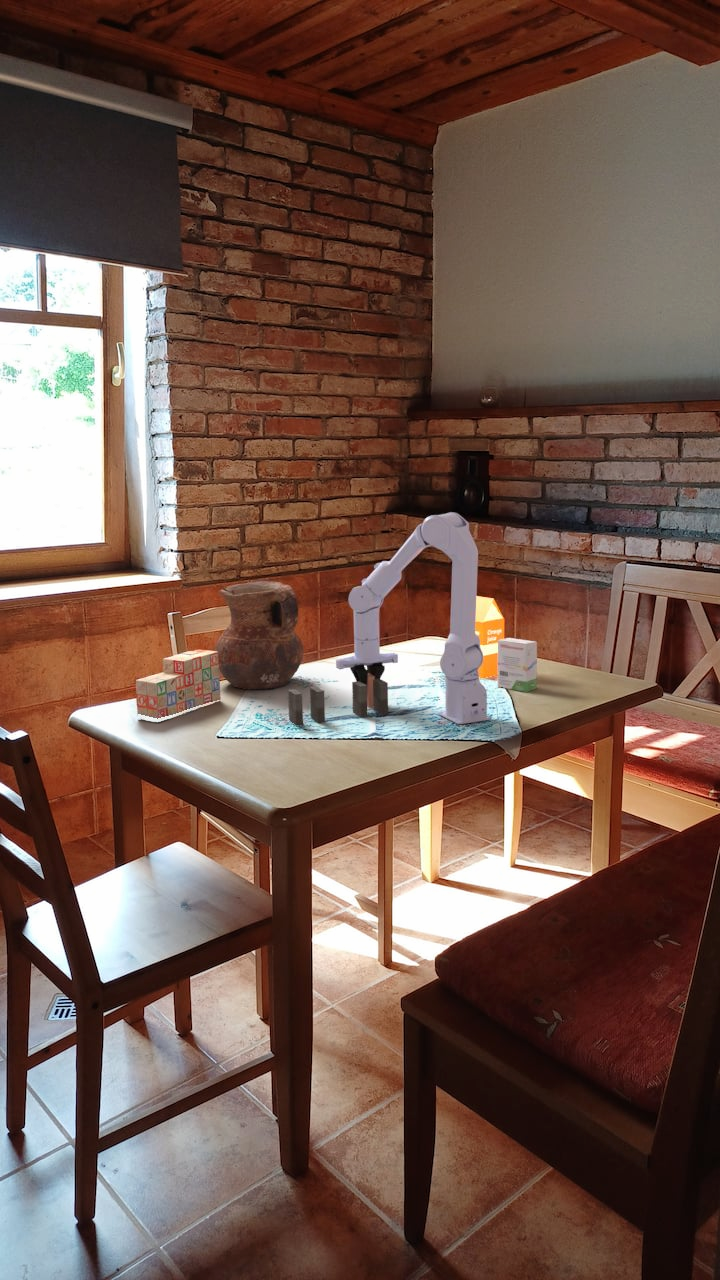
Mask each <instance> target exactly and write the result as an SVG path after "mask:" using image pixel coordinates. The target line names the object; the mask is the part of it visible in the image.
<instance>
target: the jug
mask: <svg viewBox="0 0 720 1280" xmlns="http://www.w3.org/2000/svg"><path fill="white" fill-rule="evenodd" d="M219 594H220V595H221V596H222V598H223V599H224V601H225V602H226V605H227V606H228V608H229V611H230V612H229V613H230V624H229V625H228V626H227V628H226V629H225V630H224V631H223V632H222V633H221V635H220V636H219V639H218V640H217V642H216V644H215V649H214V651H217V652H218V658H219V671H220V674H221V675H222V677H223V678H224V679H225V680H226V682H228V683H229V684H230V685H231V686H232V685H233V687H234V686H235V687H234V688H236V687H238V688H237V689H240V688H242V689H241V690H270V689H276V688H280V687H281V686H284V685H285V684H287V683H288V681H290V680H291V679H292V678H293V677H294V676H295V674H296V672H297V671H298V670H299V668H300V666H301V663H302V660H303V656H304V643H303V642H302V640H301V638H300V636H299V635H298V634H297V633H296V632H295V628H296V626H297V625H298V622H299V602H298V600H297V599H298V598H297V596H296V594H295V591H294V590H293V587H292V586H291V585H289V584H284V583H281V582H279V581H275V580H256V581H249V582H247V583H238V584H237V583H236V584H233V585H229V586H226V587H222V589H220V591H219ZM275 687H276V688H275ZM269 688H270V689H269Z"/></svg>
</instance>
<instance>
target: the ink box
mask: <svg viewBox="0 0 720 1280" xmlns="http://www.w3.org/2000/svg"><path fill="white" fill-rule="evenodd" d="M537 676H538V642H537V641H533V640H527V639H520V638H513V637H506V638H504V639H501V640H499V641H498V676H497V688H501V687H503V688H502V689H506V690H507V689H508V690H511V691H512V690H514V691H518V692H522V693H523V692H525V693H528V692H530V691H534V690H536V689H537V687H538V686H537V684H538V682H537V681H538V680H537V679H538V677H537Z"/></svg>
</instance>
